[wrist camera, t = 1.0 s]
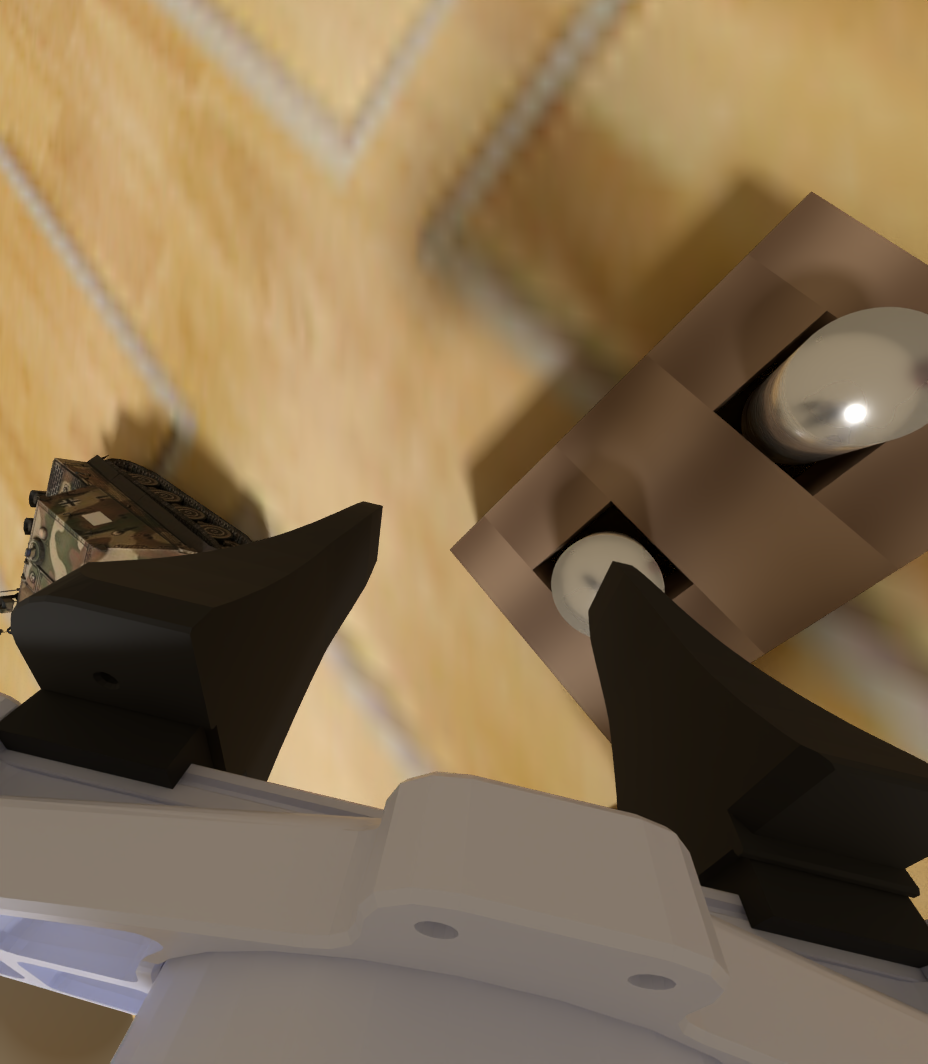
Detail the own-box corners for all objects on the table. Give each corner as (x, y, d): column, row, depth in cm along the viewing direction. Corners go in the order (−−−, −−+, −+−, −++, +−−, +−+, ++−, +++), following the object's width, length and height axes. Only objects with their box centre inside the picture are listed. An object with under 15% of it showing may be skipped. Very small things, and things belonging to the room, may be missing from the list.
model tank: (237, 682, 34) (-25, 795, 20) (104, 564, 41) (-156, 588, 27) (282, 554, 32) (18, 583, 18) (132, 452, 39) (-140, 416, 25)
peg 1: (673, 576, 18) (691, 595, 13) (605, 627, 19) (601, 661, 15) (611, 513, 19) (608, 512, 14) (550, 566, 20) (530, 580, 15)
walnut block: (998, 440, 16) (1153, 407, 11) (616, 699, 22) (615, 748, 17) (763, 272, 19) (811, 191, 14) (481, 543, 25) (449, 549, 20)
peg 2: (890, 411, 15) (1006, 365, 10) (793, 485, 16) (861, 472, 12) (804, 346, 16) (876, 279, 11) (718, 420, 17) (754, 385, 12)
